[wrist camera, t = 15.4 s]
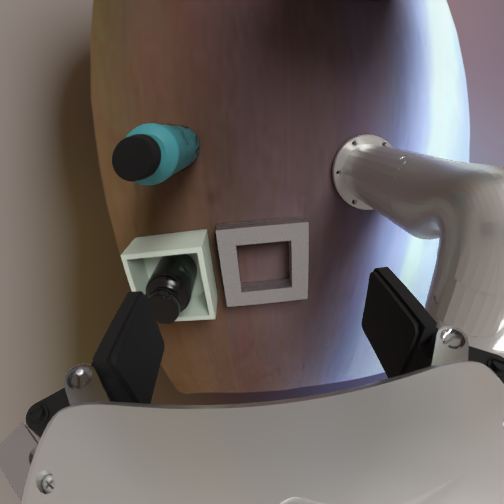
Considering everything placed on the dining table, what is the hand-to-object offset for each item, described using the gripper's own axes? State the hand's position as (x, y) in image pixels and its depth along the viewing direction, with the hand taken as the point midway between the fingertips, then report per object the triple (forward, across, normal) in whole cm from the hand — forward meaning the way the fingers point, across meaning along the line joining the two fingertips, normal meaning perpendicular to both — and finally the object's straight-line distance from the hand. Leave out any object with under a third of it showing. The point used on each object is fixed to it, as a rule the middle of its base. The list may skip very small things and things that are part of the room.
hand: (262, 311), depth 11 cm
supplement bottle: (+32, +13, +14) cm, 37 cm away
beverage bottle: (+32, +9, -6) cm, 34 cm away
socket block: (+32, -2, +14) cm, 35 cm away
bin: (+32, +13, +14) cm, 38 cm away
